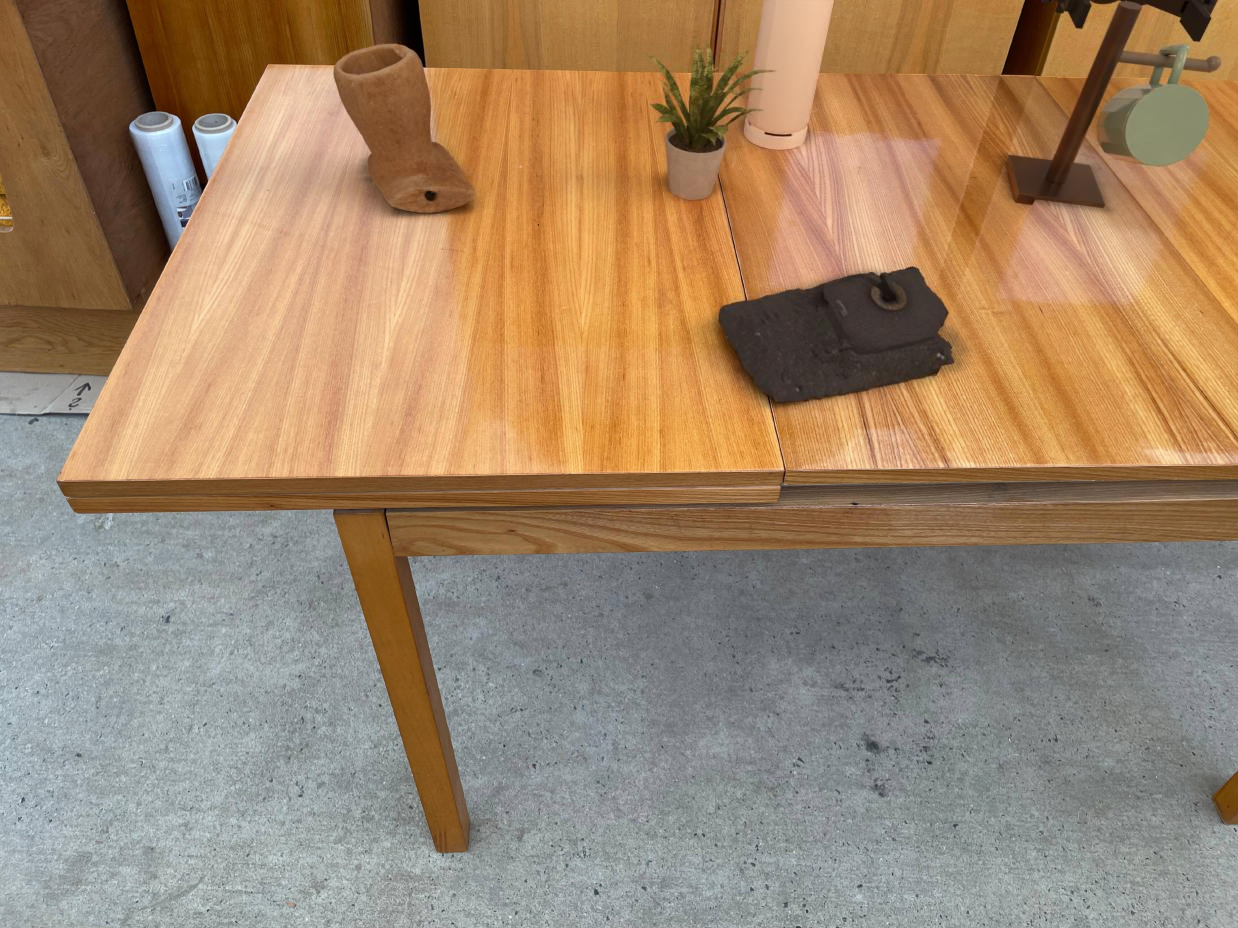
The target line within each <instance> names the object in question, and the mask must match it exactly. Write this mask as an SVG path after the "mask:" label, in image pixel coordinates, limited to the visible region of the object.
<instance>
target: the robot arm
mask: <svg viewBox="0 0 1238 928" xmlns="http://www.w3.org/2000/svg"><path fill="white" fill-rule="evenodd" d="M1122 1H1129V2H1134V3H1137V4H1139V5H1141V6H1142V7H1143V6H1146V5H1148V6H1150V7H1152V8H1155V9H1157V10H1160V11H1163V12H1164V13H1168V14H1170V15H1172V16H1175V17H1177V18H1180V19H1179V21H1178V22H1179V23H1180V25H1181V27H1183V29H1184V30H1185V32H1186V33H1187V35H1188V36H1189V37H1190V39H1191V40H1192V42H1196V43H1200V42H1201V41H1202V38H1203V36H1204V35H1205V32H1206V30H1207V29H1208V26H1209V24H1210V22H1211V21H1212V16H1211V15H1212V13H1213V12H1214V9H1215V8H1216V5H1217V3H1218V1H1219V0H1041V3H1042V4H1044V5H1050V4H1052V3H1053V2H1056V6H1055V9H1054V13H1057V14H1059V15H1061V14H1064V13H1068V15H1069V17H1070V19H1071V22H1072V23H1073V25H1074V28H1075V29H1078V30H1083V28H1084V26H1085V23H1086V21H1087V18H1088V16H1089V13H1090V10H1091V8H1092V6H1093V4H1096V5H1109V4H1110V5H1111V4H1115V3H1117V2H1122ZM1092 3H1093V4H1092Z"/></svg>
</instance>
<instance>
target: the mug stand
mask: <svg viewBox="0 0 1238 928" xmlns="http://www.w3.org/2000/svg"><path fill="white" fill-rule="evenodd" d="M1142 10H1143V6H1141V5H1139V4H1137V3H1134V2H1129V1H1118V3H1117V5H1116V8H1115V10H1114V13H1113V15H1112V18H1111V20H1110V22H1109V24H1108V27H1107V29H1106V31H1105V34H1104V37H1103V39H1102V41H1101V44H1100V46H1099V49H1098V51H1097V53H1096V55H1095V58H1094V60H1093V63H1092V65H1091V67H1090V69H1089V72H1088V74H1087V76H1086V79H1085V82H1084V84H1083V87H1082V89H1081V91H1080V93H1079V96H1078V98H1077V100H1076V103H1075V105H1074V106H1073V107H1074V108H1073V109H1072V112H1071V114H1070V117H1069V119H1068V122H1067V123H1066V127H1065V129H1064V131H1063V133H1062V135H1061V138H1060V140H1059V143H1058V145H1057V147H1056V150H1055V153H1054V154H1053V157H1052V159H1045V158H1039V157H1030V156H1023V155H1014V154H1008V156H1007V159H1006V161H1005V167H1006V170H1007V174H1008V179H1009V182H1010V186H1011V190H1012V194H1013V199H1014V202H1015V203H1018V204H1027V205H1034V203H1035V201H1036V200H1038V201H1045V202H1053V203H1061V204H1069V205H1077V206H1084V207H1091V208H1100V209H1104V208H1105V206H1106V203H1105V200H1104V197H1103V195H1102V193H1101V191H1100V188H1099V185H1098V183H1097V179H1096V177H1095V175H1094V172H1093V169H1092V167H1091V165H1090V164H1086V163H1078V162H1075V161H1076V158H1077V156H1078V154H1079V152H1080V150H1081V147H1082V145H1083V143H1084V141H1085V138H1086V136H1087V134H1088V132H1089V129H1090V127H1091V125H1092V123H1093V120H1094V118H1095V116H1096V113H1097V111H1098V109H1099V106H1100V105H1101V102H1102V101H1103V98H1104V95H1105V93H1106V91H1107V89H1108V86H1109V84H1110V82H1111V80H1112V77H1113V75H1114V73H1115V71H1116V68H1117V67H1118V63H1120V64H1129V65H1137V66H1139V65H1140V66H1147V67H1154V66H1155V67H1164V69H1172V67H1173V64H1174V61H1175V58H1176V55H1169V56H1167V55H1158V54H1159V53H1158V54H1157V53H1148V52H1141V51H1131V50H1125V48H1126V46H1127V44H1128V41H1129V38H1130V36H1131V35H1132V32H1133V30H1134V28H1135V25H1136V23H1137V21H1138V18H1139V17H1140V14H1141V12H1142ZM1221 64H1222V59H1221V57H1220V56H1217V55H1211V56H1209V57H1207V58H1206V59H1203V58H1202V59H1201V58H1195V57H1194V58H1193V57H1187V58H1186V61H1185V64H1184V67H1183V70H1182V71H1190V72H1191V71H1192V72H1198V73H1199V72H1200V73H1209V74H1210V73H1213V72H1215V71H1217V70H1218V69H1220V68H1221Z"/></svg>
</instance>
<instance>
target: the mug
mask: <svg viewBox="0 0 1238 928" xmlns="http://www.w3.org/2000/svg"><path fill="white" fill-rule="evenodd" d="M1190 48H1191V47H1190V45H1189V44H1188V43H1180V44H1172V45H1163V46H1162V47H1160V49H1159V51H1158V55H1167V56H1176V58H1175V61H1174V64H1173V67H1172V68H1171V71H1170V73H1169V76H1168V80H1167V82H1166V83H1160V82H1161V79H1162V76H1163V73H1164V70H1165V68H1164V67H1155V66H1153V69H1152V73H1151V75H1150V78H1149V81H1148V83H1147V84H1145V83H1144V84H1142V83H1141V84H1140V83H1139V84H1136V85H1133V86H1128V87H1125V88H1123V89H1122V90H1120V91H1119V92H1117V93H1116V94H1115V95H1113V96H1111V97H1110V98H1109V99H1108V101H1107V102H1106V104H1104V107H1102V109H1101V111H1100V113H1099V116H1098V119H1097V122H1096V124H1095V125H1096V126H1095V129H1096V131H1095V132H1096V140H1097V143H1098V145H1099V146H1100V148H1101V150H1102V151H1103V152H1104V153H1105V154H1106V155H1107V156H1109V157H1111V158H1112V159H1114V160H1117V161H1122V162H1126V163H1131V164H1136V165H1141V166H1147V167H1148V166H1149V167H1155V168H1156V167H1157V168H1161V167H1167V166H1171V165H1174V164H1177V163H1179V162H1181V161H1183V160H1185V159H1186V158H1188V157H1189V156H1190V155H1191V154H1193V153H1194V152H1195V151H1196V149H1197V148H1199V146H1200V145H1201V144H1202V142H1203V140H1204V138H1205V137H1206V135H1207V132H1208V128H1209V125H1210V110H1209V109H1210V108H1209V106H1208V104H1207V101H1206V99H1205V97H1204V96H1203V95H1202V94H1201V93H1200V92H1199V91H1198V90H1196V89H1195V88H1193V87H1191V86H1187V85H1185V84H1179V82H1180V78H1181V77H1182V72H1183V71H1184V70H1183V67H1184V64H1185V61H1186V58H1188V55H1189V53H1190Z"/></svg>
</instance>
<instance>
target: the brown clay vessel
mask: <svg viewBox="0 0 1238 928" xmlns="http://www.w3.org/2000/svg"><path fill="white" fill-rule="evenodd" d="M332 74H333V79H334V83H335V86H336V89H337V92H338V95H339V98H340V100H341V103H342V105H343V107H344V109H345V111H346V114H347V115H348V116H349V118H350V119H351V121H352V123H353V125H354V126H355V128H356V129H357V131H358V132H359V134H360V135H361V137H362V139H363V141H364V142H365V144H366V146H367V149H368V150H369V152H370V154H369V155H368V157H367V168H368V173H369V175H370V177H371V179H372V181H373V182H374V184H375V185H376V187H377V188H378V190H379V191H380V193H381V195H382V196H383V198H384V199H385V201H386V203H388V205H389V206H390V207H392V208H395V209H398V210H403V211H408V212H412V213H422V214H434V213H440V212H441V213H442V212H445V211H449V210H454V209H456V208H460V207H462V206H464V205H467V204H468V203H470V202H472V201H473V200H475V198H476V196H477V193H476V191H475V189H474V187H473V184H471V182H470V180H469V178H468V177H467V175H465V172H463V171H462V169H461V167H460V166H459V165H460V164H458V163H457V161H456V159H455V158H454V157H453V156H452V154H451V153H450V152H449V150H447V149H446V147H445V146H443V145H442V144H441V143H440V142H437V141H432V131H431V115H432V101H431V94H430V89H429V86H428V81H427V78H426V72H425V69H424V66H423V63H422V60H421V58H420V57H419V55H418V54H417V53H416V51H414V50H413V49H411V48H409V47H407V46H406V45H403V44H398V43H381V44H376V45H372V46H369V47H364V48H359V49H356V50H353V51H351V52H349V53H347V54H345V55H343V56H342V57H341V58H340V59H338V61H337V60H336V63H335V64H334V66H333V73H332Z"/></svg>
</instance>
